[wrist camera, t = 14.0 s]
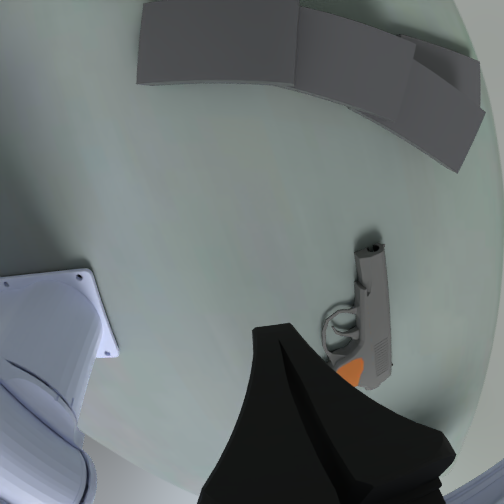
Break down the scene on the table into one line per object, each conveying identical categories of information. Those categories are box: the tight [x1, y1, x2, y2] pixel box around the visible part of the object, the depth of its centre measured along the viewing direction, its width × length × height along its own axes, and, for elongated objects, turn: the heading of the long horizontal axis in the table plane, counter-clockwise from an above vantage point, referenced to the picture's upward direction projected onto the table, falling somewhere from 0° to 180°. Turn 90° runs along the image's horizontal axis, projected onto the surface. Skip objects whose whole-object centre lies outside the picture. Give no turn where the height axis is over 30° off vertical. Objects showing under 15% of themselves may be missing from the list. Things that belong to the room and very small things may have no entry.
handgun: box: [322, 243, 393, 390], centre depth 26 cm, size 2×16×12 cm
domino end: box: [396, 34, 480, 107], centre depth 17 cm, size 2×5×8 cm
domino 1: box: [137, 0, 300, 87], centre depth 13 cm, size 2×5×8 cm
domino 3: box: [348, 59, 486, 174], centre depth 16 cm, size 2×5×8 cm
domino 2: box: [273, 6, 416, 122], centre depth 14 cm, size 2×5×8 cm
